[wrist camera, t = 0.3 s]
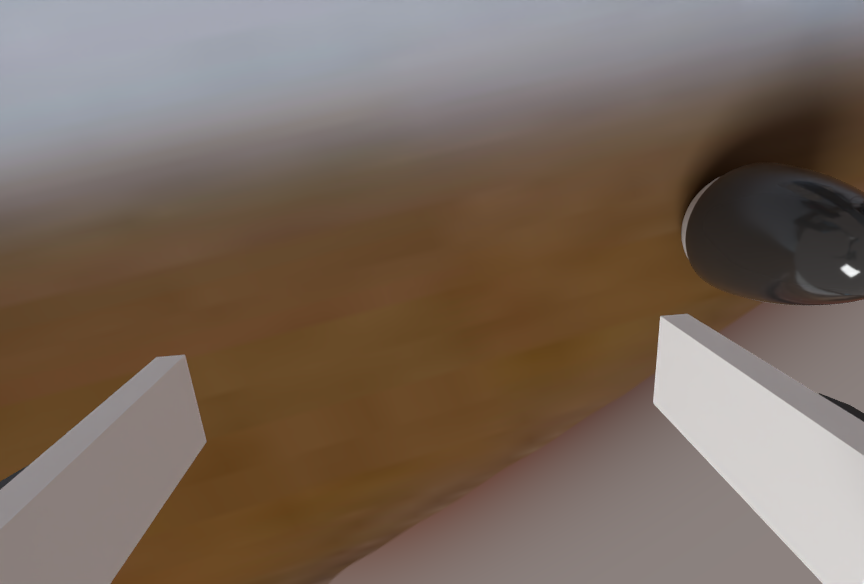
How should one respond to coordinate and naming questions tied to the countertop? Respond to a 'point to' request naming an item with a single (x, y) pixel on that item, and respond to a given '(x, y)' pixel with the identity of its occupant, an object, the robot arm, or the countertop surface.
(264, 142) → the countertop surface
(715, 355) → the robot arm
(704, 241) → the pump dispenser
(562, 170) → the countertop surface
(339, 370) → the countertop surface
